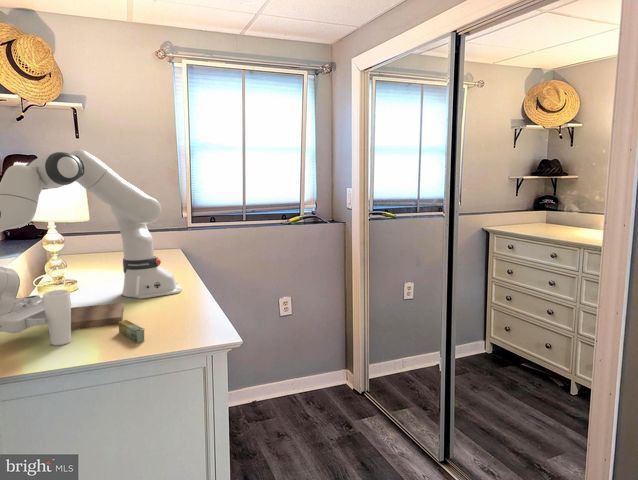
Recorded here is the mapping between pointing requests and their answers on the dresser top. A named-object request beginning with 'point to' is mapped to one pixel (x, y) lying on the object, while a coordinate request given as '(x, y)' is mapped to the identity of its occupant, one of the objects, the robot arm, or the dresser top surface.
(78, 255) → the dresser top surface
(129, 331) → the medication box
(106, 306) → the walnut board
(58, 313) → the drinking glass
